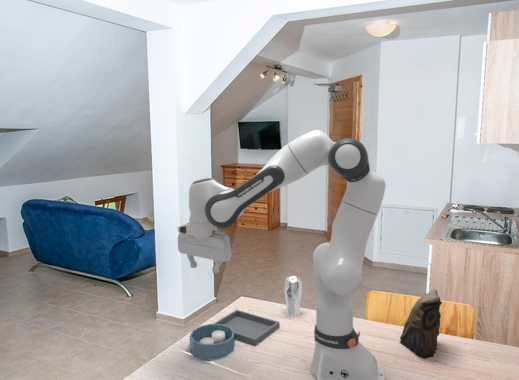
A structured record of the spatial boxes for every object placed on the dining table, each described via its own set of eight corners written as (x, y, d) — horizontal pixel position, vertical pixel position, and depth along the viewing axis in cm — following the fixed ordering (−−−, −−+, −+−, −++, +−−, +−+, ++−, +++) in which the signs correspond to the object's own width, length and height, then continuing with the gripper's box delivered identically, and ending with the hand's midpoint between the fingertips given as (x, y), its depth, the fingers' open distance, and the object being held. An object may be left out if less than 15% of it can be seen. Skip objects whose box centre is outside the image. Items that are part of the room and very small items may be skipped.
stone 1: (216, 349, 144) (216, 339, 143) (208, 355, 140) (207, 345, 140) (206, 345, 146) (206, 336, 146) (197, 351, 143) (197, 341, 142)
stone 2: (227, 341, 149) (227, 332, 148) (219, 347, 145) (219, 338, 144) (217, 338, 151) (217, 329, 151) (209, 343, 148) (208, 334, 147)
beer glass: (304, 313, 173) (304, 277, 171) (296, 319, 167) (297, 283, 165) (289, 309, 177) (289, 274, 175) (281, 315, 171) (281, 280, 169)
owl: (433, 339, 151) (436, 286, 148) (451, 359, 139) (455, 300, 136) (398, 341, 150) (401, 287, 147) (414, 361, 138) (417, 302, 135)
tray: (279, 329, 159) (279, 321, 159) (255, 348, 146) (255, 339, 146) (236, 316, 170) (236, 309, 170) (210, 332, 157) (210, 325, 157)
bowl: (242, 345, 148) (242, 330, 147) (215, 365, 136) (215, 349, 135) (210, 334, 156) (209, 320, 155) (181, 352, 144) (181, 337, 143)
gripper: (235, 230, 134) (235, 273, 136) (187, 223, 145) (188, 262, 147) (222, 235, 129) (223, 278, 131) (173, 226, 140) (175, 267, 142)
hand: (204, 270), depth 139 cm, fingers open, 8 cm apart
